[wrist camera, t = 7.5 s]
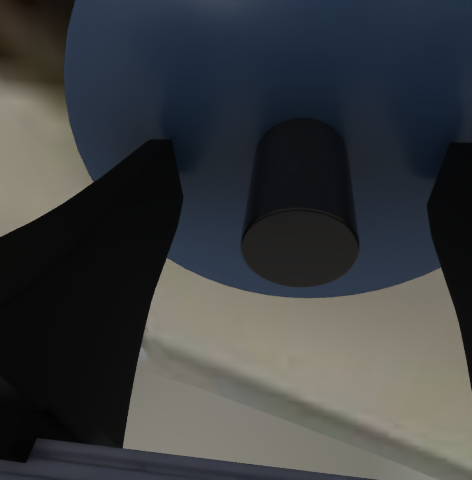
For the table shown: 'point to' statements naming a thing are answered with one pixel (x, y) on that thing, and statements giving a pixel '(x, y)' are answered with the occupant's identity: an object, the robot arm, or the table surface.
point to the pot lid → (281, 128)
